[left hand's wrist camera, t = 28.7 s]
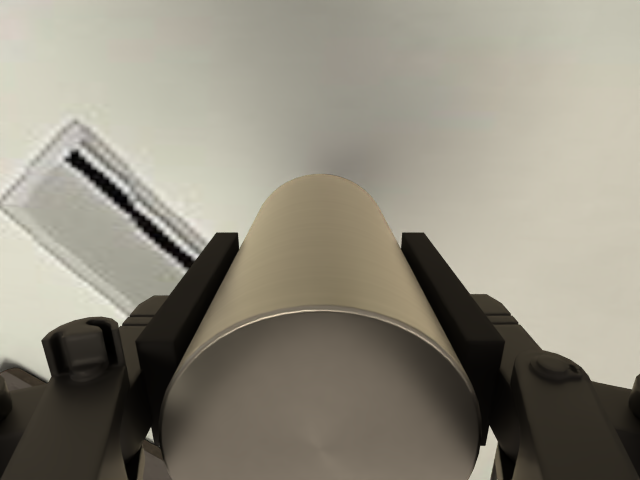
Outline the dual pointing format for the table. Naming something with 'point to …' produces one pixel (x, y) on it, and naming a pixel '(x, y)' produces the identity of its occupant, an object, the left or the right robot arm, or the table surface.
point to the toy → (154, 468)
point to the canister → (320, 357)
